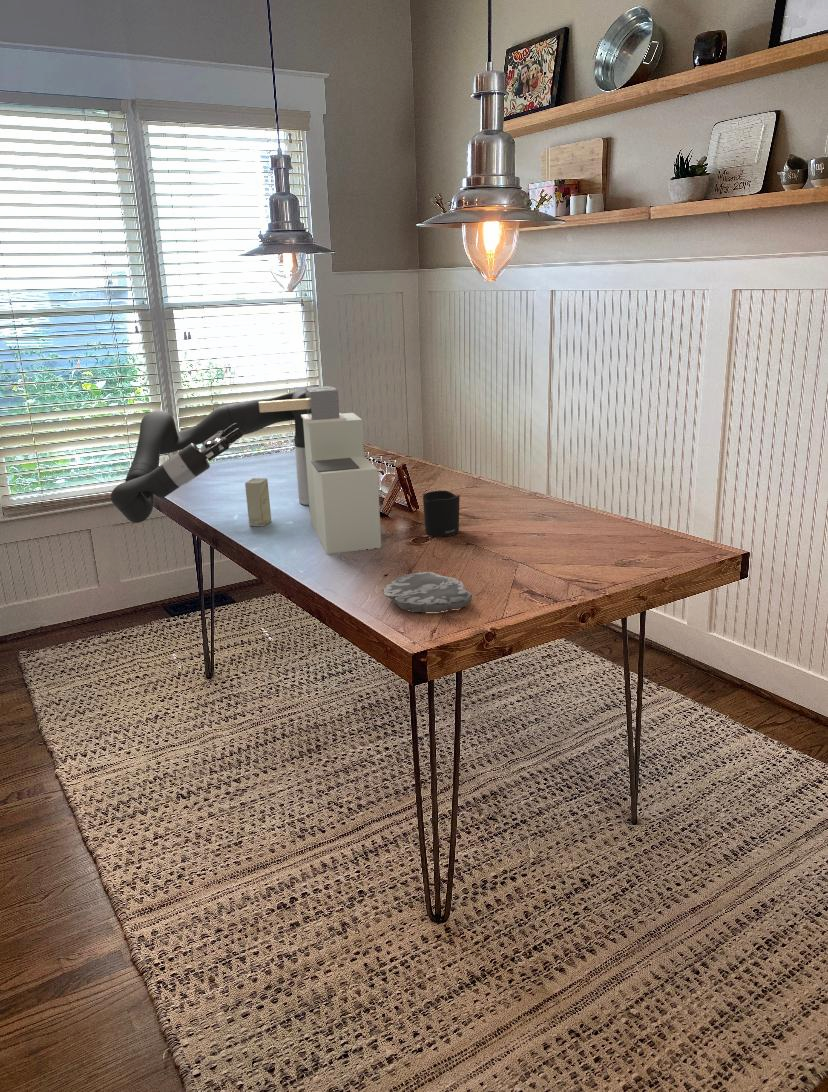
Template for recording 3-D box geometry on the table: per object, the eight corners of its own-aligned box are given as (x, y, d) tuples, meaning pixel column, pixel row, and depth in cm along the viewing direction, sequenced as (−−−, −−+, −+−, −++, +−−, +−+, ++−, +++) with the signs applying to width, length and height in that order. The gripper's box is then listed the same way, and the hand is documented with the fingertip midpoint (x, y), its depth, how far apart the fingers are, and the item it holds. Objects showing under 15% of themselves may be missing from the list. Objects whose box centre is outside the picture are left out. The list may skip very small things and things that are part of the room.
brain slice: (366, 597, 180) (366, 584, 179) (434, 580, 188) (434, 568, 187) (416, 627, 164) (415, 613, 163) (487, 607, 172) (487, 594, 171)
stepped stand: (359, 518, 236) (353, 410, 227) (381, 548, 210) (375, 427, 201) (308, 523, 233) (300, 414, 224) (325, 554, 207) (316, 431, 198)
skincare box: (263, 526, 232) (259, 483, 228) (248, 526, 233) (244, 483, 229) (272, 520, 238) (268, 477, 234) (257, 520, 238) (253, 477, 235)
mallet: (333, 412, 224) (331, 385, 222) (339, 417, 216) (337, 390, 214) (258, 418, 220) (256, 390, 218) (262, 423, 211) (259, 395, 209)
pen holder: (421, 537, 218) (420, 499, 214) (426, 527, 226) (425, 490, 223) (458, 538, 216) (457, 499, 213) (461, 527, 225) (461, 490, 222)
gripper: (177, 458, 206) (232, 420, 207) (176, 447, 219) (229, 412, 220) (196, 483, 209) (250, 445, 210) (194, 471, 222) (246, 436, 223)
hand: (239, 428), depth 215 cm, fingers open, 8 cm apart
